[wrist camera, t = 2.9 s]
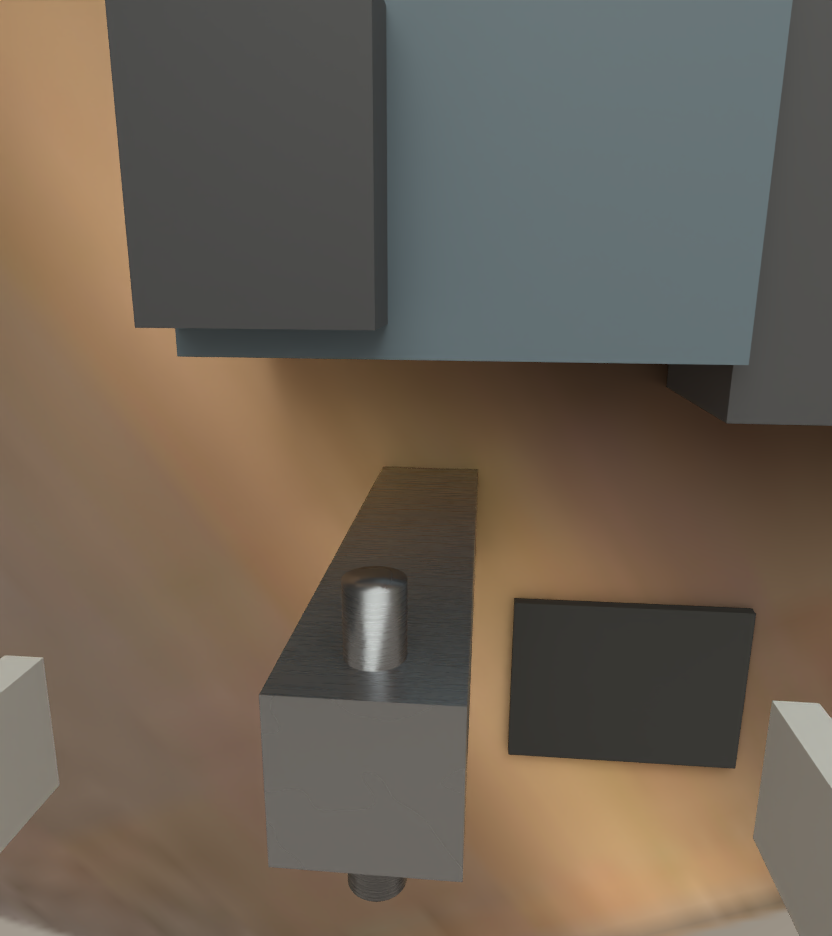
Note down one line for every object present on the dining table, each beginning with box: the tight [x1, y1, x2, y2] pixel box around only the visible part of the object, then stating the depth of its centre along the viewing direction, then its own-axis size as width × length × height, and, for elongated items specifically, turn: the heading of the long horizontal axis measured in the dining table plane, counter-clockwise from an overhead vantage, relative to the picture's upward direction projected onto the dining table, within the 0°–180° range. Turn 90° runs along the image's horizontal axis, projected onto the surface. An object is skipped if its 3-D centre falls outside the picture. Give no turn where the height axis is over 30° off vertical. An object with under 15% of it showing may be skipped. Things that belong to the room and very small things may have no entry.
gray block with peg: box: [259, 467, 478, 902], centre depth 18 cm, size 3×6×14 cm, turn 179°
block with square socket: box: [105, 0, 832, 426], centre depth 17 cm, size 27×11×9 cm, turn 90°
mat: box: [508, 598, 756, 768], centre depth 26 cm, size 8×6×1 cm
